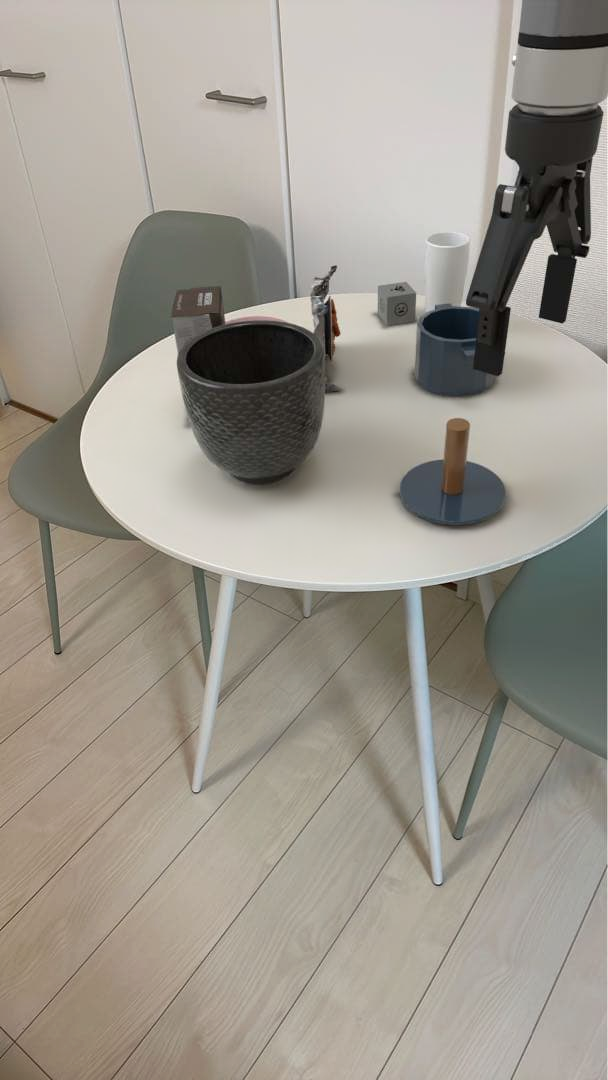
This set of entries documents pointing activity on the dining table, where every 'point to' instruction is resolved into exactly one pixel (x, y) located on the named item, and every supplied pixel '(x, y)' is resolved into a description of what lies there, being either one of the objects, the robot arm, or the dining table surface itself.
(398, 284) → the dice cube
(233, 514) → the dining table surface
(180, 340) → the coffee box
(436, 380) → the pot
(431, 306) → the drinking glass
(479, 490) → the lid
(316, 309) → the meal
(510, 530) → the dining table surface
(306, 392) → the planter
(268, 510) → the dining table surface
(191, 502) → the dining table surface
